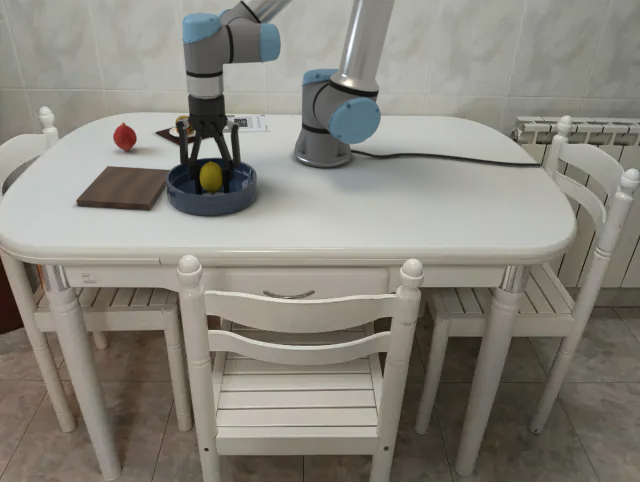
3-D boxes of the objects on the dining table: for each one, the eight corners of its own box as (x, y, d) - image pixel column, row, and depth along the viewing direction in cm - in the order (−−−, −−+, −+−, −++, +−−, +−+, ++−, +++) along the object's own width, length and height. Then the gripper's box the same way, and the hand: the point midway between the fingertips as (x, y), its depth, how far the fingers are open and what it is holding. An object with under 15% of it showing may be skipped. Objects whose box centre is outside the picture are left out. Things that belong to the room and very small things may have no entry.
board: (172, 175, 137) (172, 169, 136) (149, 210, 122) (148, 204, 121) (108, 171, 137) (107, 165, 137) (77, 206, 122) (76, 199, 121)
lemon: (220, 200, 126) (218, 168, 122) (197, 197, 127) (194, 165, 123) (228, 189, 131) (226, 158, 126) (206, 186, 132) (203, 155, 127)
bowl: (262, 178, 137) (262, 160, 135) (249, 219, 120) (248, 198, 118) (181, 174, 138) (179, 155, 135) (156, 213, 121) (153, 192, 118)
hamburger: (191, 124, 167) (189, 106, 164) (215, 135, 160) (214, 117, 157) (155, 133, 160) (153, 114, 157) (179, 145, 153) (177, 126, 150)
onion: (110, 152, 147) (105, 123, 143) (125, 145, 152) (120, 116, 147) (129, 156, 145) (124, 127, 141) (142, 149, 150) (138, 120, 146)
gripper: (253, 90, 119) (255, 187, 132) (166, 85, 120) (177, 183, 132) (247, 101, 113) (250, 202, 125) (156, 96, 114) (167, 197, 126)
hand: (212, 192), depth 129 cm, fingers closed on bowl, 6 cm apart
